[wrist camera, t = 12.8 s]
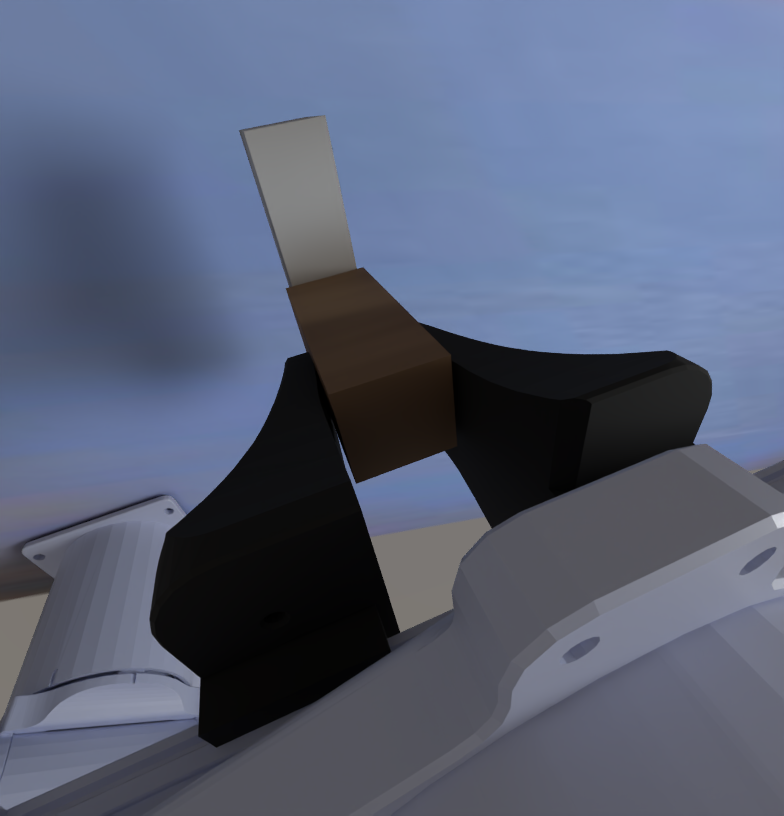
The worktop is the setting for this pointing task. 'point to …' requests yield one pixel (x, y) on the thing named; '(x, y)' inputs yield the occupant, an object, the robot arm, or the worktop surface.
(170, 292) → the worktop surface
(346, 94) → the worktop surface
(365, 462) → the scraper
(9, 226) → the worktop surface
